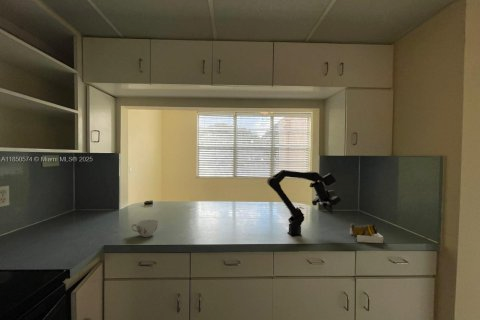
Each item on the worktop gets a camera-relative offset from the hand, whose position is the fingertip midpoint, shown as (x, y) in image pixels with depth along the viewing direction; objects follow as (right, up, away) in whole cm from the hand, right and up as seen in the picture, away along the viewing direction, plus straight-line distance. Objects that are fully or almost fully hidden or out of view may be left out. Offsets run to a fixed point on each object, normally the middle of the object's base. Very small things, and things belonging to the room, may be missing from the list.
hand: (331, 213), depth 156 cm
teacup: (-111, -12, -7) cm, 112 cm away
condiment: (+10, -9, -6) cm, 15 cm away
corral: (+17, -13, -6) cm, 23 cm away
